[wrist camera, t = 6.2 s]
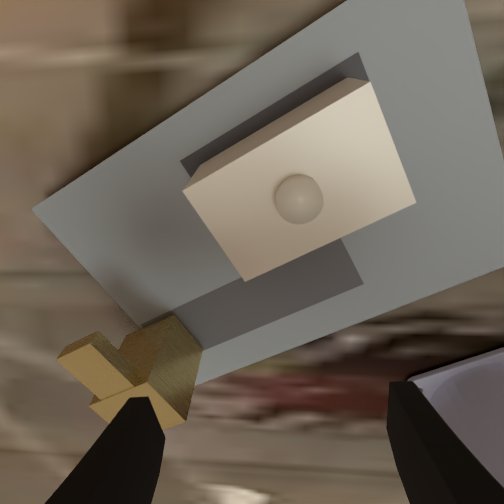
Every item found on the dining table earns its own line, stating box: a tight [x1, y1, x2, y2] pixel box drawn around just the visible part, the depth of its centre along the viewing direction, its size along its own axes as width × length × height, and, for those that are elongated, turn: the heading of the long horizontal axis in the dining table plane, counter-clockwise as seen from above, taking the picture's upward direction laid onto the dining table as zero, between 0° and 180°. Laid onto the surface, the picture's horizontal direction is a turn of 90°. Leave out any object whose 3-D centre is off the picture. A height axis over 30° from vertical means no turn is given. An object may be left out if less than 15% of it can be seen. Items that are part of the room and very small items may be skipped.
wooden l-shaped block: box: [56, 313, 203, 430], centre depth 18 cm, size 6×4×5 cm, turn 30°
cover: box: [182, 77, 416, 282], centre depth 14 cm, size 4×7×4 cm, turn 120°
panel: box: [31, 0, 504, 386], centre depth 18 cm, size 14×20×2 cm
